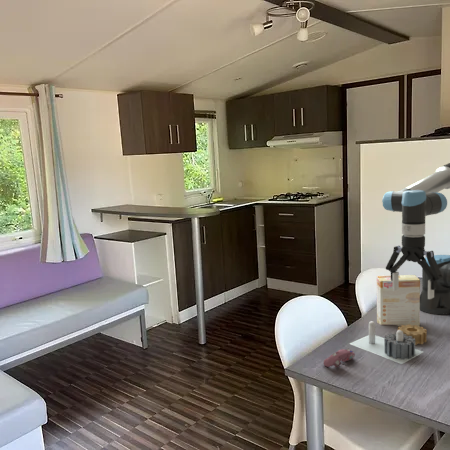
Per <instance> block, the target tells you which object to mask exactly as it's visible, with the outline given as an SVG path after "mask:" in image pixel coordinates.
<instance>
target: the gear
mask: <svg viewBox="0 0 450 450" xmlns="http://www.w3.org/2000/svg"><path fill="white" fill-rule="evenodd" d="M383 338H384V352H385V353H387V356H389V357H390V356H392V357H393V358H395V359H397V358H401V360H405V358H408V359H411V358H412V357H414V356H415V349H416V345H415V338H412V336H406V334H403V341H396V332H395V333H389V334H388V335H385V336H384V337H383ZM414 358H415V357H414ZM412 359H413V358H412ZM412 359H411V360H412Z"/></svg>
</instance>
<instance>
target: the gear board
mask: <svg viewBox="0 0 450 450" xmlns="http://www.w3.org/2000/svg"><path fill="white" fill-rule="evenodd" d="M395 333H396V341H403V331H401V330H398V329H397V331H396V332H395ZM384 338H385V337H382V336H379V335H376V323H375V321H373V320H370V321H369V322H368V335H365V336H363V337H361V338H359V339H357V340H354V341H352V342H349V345H351V346H353V347H356V348H359V349H361V350H363V351H366V352H369V353H372V354H374V355H377V356H379V357H382V358H384V359H387V360H389V361H392V362H395V363H398V364H399V365H403V364H405V363H407V362H408V361H410V360H412V359H414V358H417V356H420V355H422V354H423V353H424V351H423V350H421V349H416V348H415V356H414V357H412V358H411V359H408V358H405V360H401V358H397V359H395V358H393V357H392V356H390V357H389V356H387V353H385V352H384Z"/></svg>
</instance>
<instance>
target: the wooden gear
mask: <svg viewBox="0 0 450 450" xmlns="http://www.w3.org/2000/svg"><path fill="white" fill-rule="evenodd" d="M398 330H401V331H403V334H406V336H412V338H415V346H417V345H418V344H419V345H424V343H427V340H428V339H427V336H428V333H427V331H428V330H427V329H426V328H424V326H419V327H418V325H410V324H407V325H401V327H400V326H398V327H397V331H398Z"/></svg>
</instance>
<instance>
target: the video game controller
mask: <svg viewBox="0 0 450 450" xmlns="http://www.w3.org/2000/svg"><path fill="white" fill-rule="evenodd" d="M355 356H356V353H355V352H354V351H353V350H351V349H350V348H347V349H345V348H343V349H342V348H340V349H339V350H337V351H336V352H334V353H332V354H330V355H329V356H328V357H327V358H325V359H324V360H323V366H325V367H326V368H330V367H333V366H334V367H335V368H339V367H340V366H341V361H342V362H343V363H344V362H345V363H346V362H349V361H351V360H352V359H354V358H355ZM343 363H342V365H345V364H343Z"/></svg>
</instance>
